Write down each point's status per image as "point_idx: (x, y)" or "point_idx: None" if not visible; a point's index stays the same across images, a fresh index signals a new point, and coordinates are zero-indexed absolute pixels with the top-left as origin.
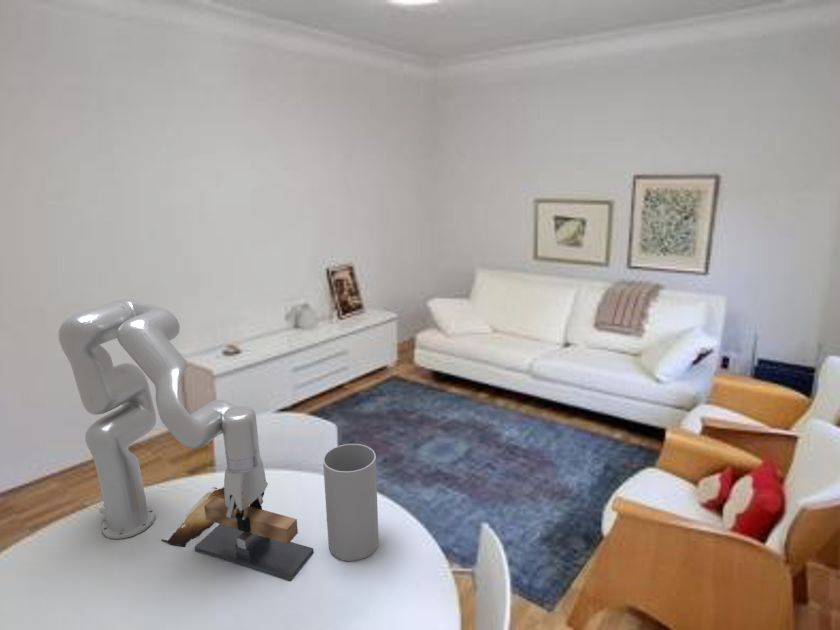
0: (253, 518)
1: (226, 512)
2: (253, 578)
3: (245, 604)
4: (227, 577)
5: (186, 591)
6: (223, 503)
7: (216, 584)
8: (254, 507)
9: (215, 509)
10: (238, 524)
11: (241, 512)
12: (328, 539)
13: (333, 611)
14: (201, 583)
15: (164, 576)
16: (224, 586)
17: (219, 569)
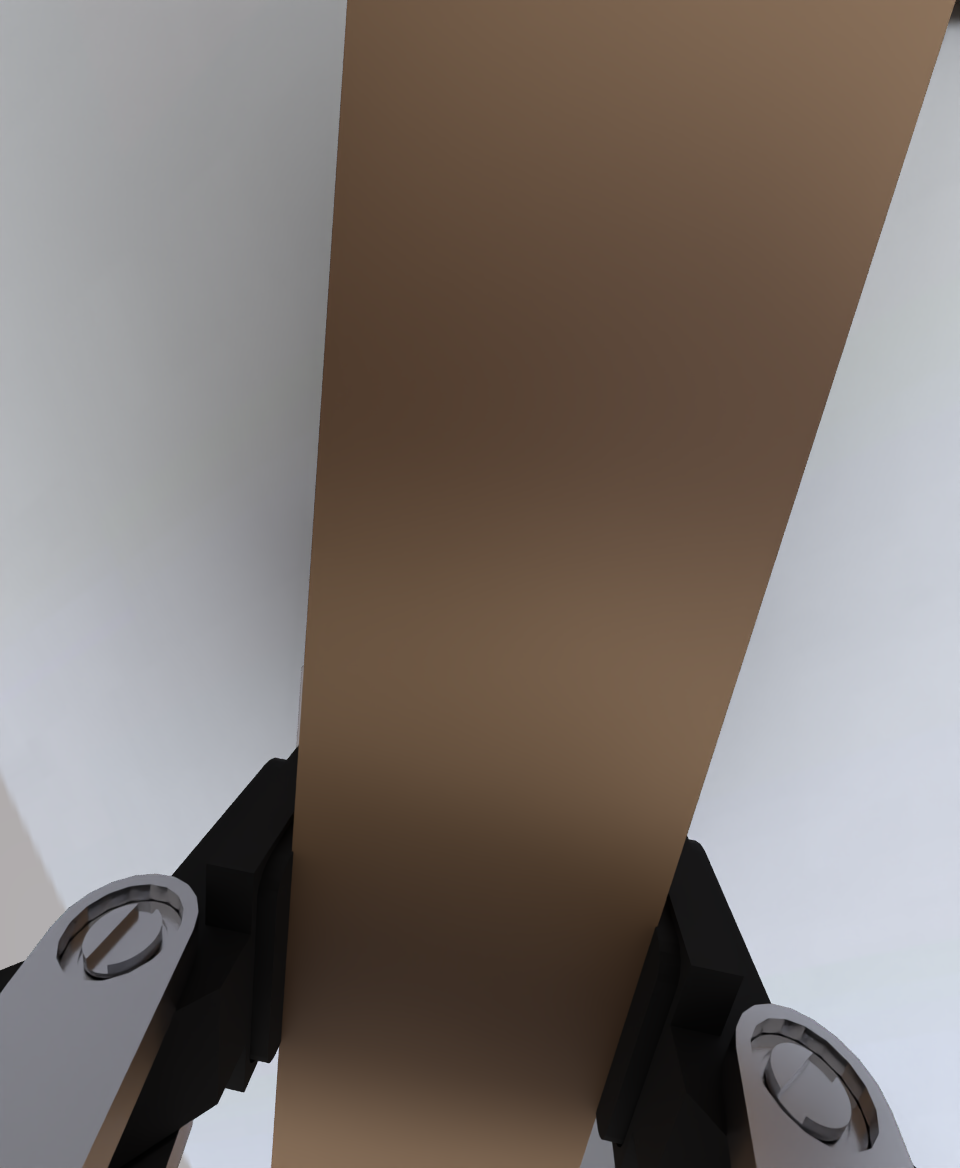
0: (311, 1096)
1: (319, 514)
2: (282, 738)
3: (109, 775)
4: (238, 576)
5: (40, 362)
6: (679, 161)
7: (164, 537)
8: (621, 1028)
9: (346, 73)
10: (229, 814)
11: (406, 854)
12: (608, 1161)
13: (225, 1130)
14: (134, 426)
15: (77, 50)
16: (169, 597)
17: (282, 479)
